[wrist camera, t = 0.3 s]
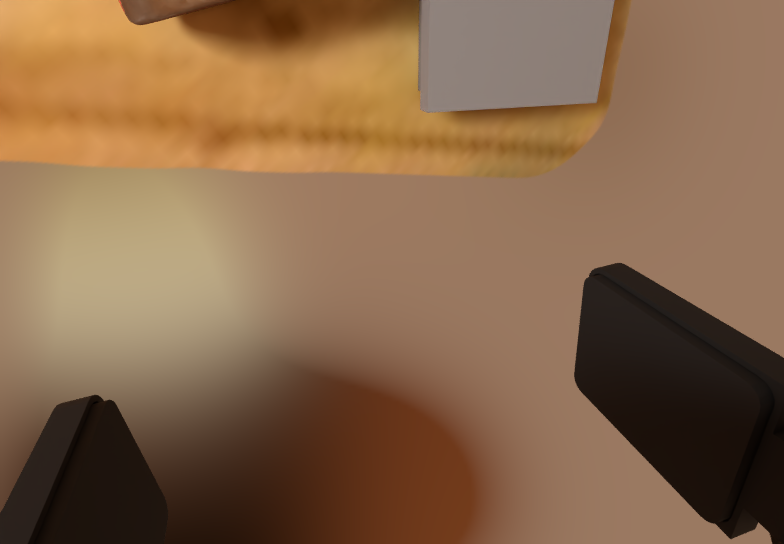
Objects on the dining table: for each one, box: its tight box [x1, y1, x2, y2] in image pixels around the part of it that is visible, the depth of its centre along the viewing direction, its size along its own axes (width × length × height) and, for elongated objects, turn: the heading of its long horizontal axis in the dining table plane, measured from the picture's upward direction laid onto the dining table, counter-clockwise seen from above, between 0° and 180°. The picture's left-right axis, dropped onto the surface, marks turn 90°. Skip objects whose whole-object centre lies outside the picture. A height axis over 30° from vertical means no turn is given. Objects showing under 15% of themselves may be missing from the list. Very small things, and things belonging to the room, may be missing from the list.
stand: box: [418, 0, 614, 113], centre depth 34 cm, size 14×14×5 cm
